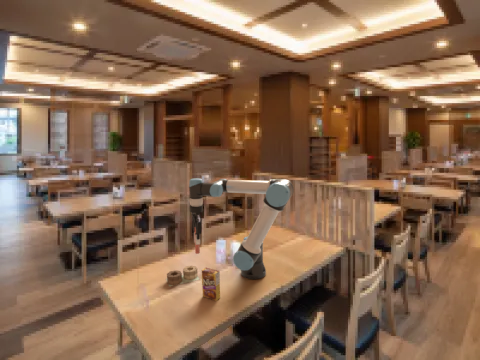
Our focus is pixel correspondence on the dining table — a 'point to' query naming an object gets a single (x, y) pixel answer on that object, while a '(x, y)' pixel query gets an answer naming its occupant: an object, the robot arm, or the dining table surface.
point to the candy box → (211, 283)
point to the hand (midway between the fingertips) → (197, 243)
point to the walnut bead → (174, 277)
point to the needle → (197, 246)
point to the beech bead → (190, 272)
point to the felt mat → (186, 280)
